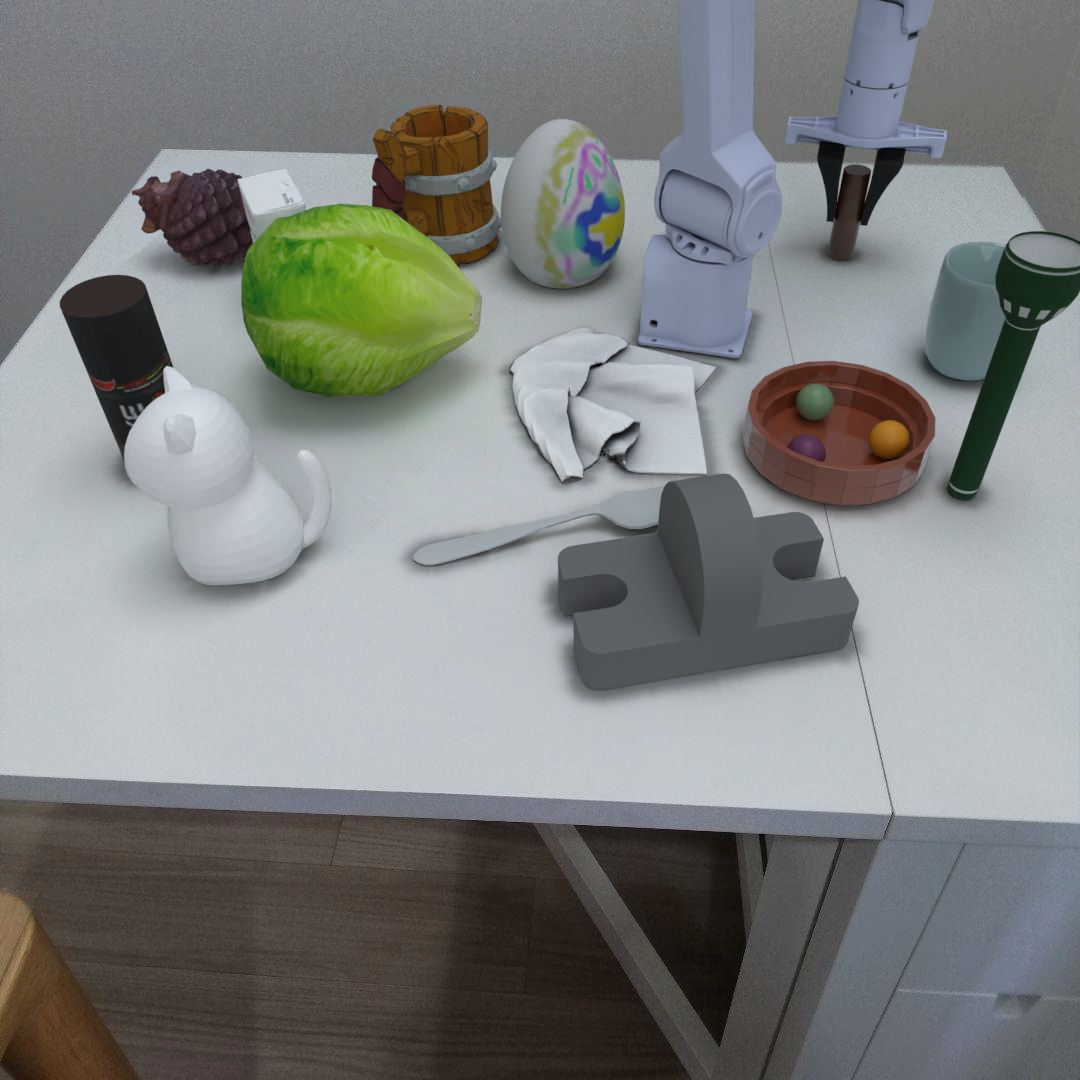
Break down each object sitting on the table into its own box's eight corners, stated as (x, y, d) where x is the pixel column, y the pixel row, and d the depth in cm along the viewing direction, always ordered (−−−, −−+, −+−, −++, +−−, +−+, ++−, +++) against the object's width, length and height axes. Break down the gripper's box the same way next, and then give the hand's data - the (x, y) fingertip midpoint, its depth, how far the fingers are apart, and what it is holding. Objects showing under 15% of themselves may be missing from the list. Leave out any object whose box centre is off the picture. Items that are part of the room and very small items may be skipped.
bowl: (730, 492, 75) (736, 452, 72) (756, 389, 85) (762, 350, 82) (920, 525, 72) (933, 484, 69) (924, 414, 81) (937, 374, 79)
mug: (521, 233, 106) (515, 90, 96) (430, 301, 97) (412, 150, 86) (442, 211, 111) (427, 72, 100) (347, 274, 101) (320, 127, 91)
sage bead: (791, 424, 80) (796, 394, 78) (795, 403, 82) (801, 374, 80) (828, 430, 79) (835, 400, 77) (831, 409, 81) (838, 379, 79)
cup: (1013, 397, 83) (1053, 291, 76) (917, 388, 84) (948, 283, 77) (1001, 346, 88) (1037, 244, 81) (911, 339, 90) (940, 237, 83)
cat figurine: (170, 532, 74) (103, 364, 63) (336, 499, 76) (297, 332, 65) (170, 618, 67) (95, 448, 57) (351, 580, 69) (311, 409, 59)
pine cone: (304, 217, 110) (314, 159, 101) (305, 294, 108) (316, 242, 99) (135, 196, 105) (130, 133, 96) (132, 278, 102) (126, 220, 93)
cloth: (571, 318, 94) (570, 295, 92) (780, 391, 84) (785, 368, 83) (434, 426, 82) (431, 403, 80) (660, 526, 73) (662, 502, 71)
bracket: (854, 646, 64) (890, 526, 56) (585, 692, 62) (586, 574, 54) (799, 546, 71) (825, 427, 63) (555, 584, 69) (552, 466, 61)
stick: (826, 259, 101) (842, 174, 94) (828, 247, 102) (844, 163, 96) (852, 262, 100) (870, 176, 94) (853, 250, 102) (872, 165, 96)
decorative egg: (571, 313, 94) (570, 160, 84) (479, 274, 100) (468, 126, 90) (646, 264, 101) (654, 116, 90) (555, 230, 107) (553, 87, 96)
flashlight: (1007, 488, 75) (1105, 245, 61) (980, 523, 72) (1077, 278, 58) (943, 461, 77) (1023, 222, 63) (915, 495, 74) (992, 253, 60)
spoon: (692, 526, 73) (694, 509, 71) (417, 579, 69) (415, 563, 68) (673, 490, 75) (675, 474, 74) (409, 540, 72) (406, 524, 71)
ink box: (262, 288, 99) (234, 175, 91) (310, 278, 101) (286, 165, 92) (279, 329, 94) (251, 212, 85) (330, 318, 95) (307, 201, 87)
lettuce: (469, 450, 83) (471, 306, 72) (232, 430, 83) (196, 282, 71) (485, 326, 94) (490, 182, 82) (275, 307, 93) (250, 160, 82)
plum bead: (780, 477, 75) (786, 447, 73) (785, 454, 77) (791, 423, 75) (820, 484, 75) (827, 454, 73) (824, 460, 77) (830, 430, 75)
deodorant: (135, 491, 77) (66, 326, 67) (121, 450, 81) (53, 287, 70) (209, 467, 79) (153, 303, 68) (192, 428, 83) (137, 267, 72)
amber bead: (863, 463, 76) (871, 432, 74) (866, 440, 78) (874, 409, 76) (903, 469, 76) (913, 439, 74) (905, 446, 78) (914, 416, 76)
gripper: (959, 69, 90) (923, 209, 100) (800, 57, 93) (779, 194, 103) (959, 97, 85) (921, 241, 95) (791, 83, 89) (770, 224, 98)
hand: (847, 219), depth 99 cm, fingers open, 3 cm apart
